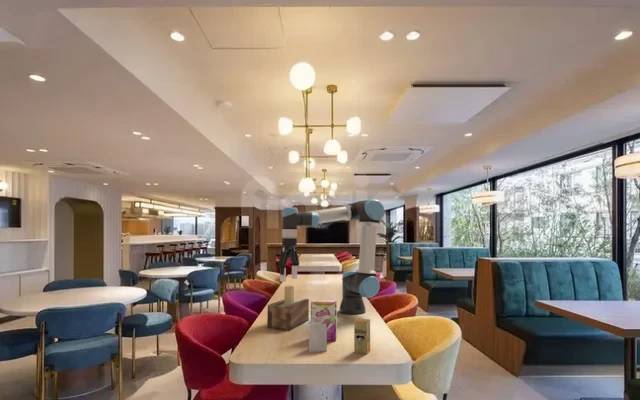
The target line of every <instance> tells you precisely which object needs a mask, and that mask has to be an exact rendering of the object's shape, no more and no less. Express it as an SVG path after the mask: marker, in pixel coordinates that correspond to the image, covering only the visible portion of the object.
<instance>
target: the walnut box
mask: <svg viewBox="0 0 640 400" xmlns="http://www.w3.org/2000/svg"><path fill="white" fill-rule="evenodd" d="M297 301H298V300H297ZM282 303H284V299H280V300H278V301H275V302H273V303H270V304H267V316H266V317H267V318H266V319H267V321H266V322H267V323H266V324H267V329H269V330H280V331H293V330H294V329H296V328H297V327H299V326H301V325H304V324H305V323H306V322H308V321H309V320H310V318H309V317H310V316H309V314H310V313H309V312H310V309H309V308H310V305H309V304H310V300H309V298H303V299H301V300H299V301H298V302H295V303H293V304H290V305H288V306H279V305H280V304H282Z"/></svg>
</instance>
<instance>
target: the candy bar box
mask: <svg viewBox="0 0 640 400" xmlns="http://www.w3.org/2000/svg"><path fill="white" fill-rule="evenodd" d="M337 315H338V301H337V300H327V299H326V300H325V299H324V300H323V299H312V300H311V301H310V324H326V329H327V342H336V341H337V338H338V336H337V333H338V332H337V328H338V327H337V325H338V323H337V322H338V321H337V320H338V319H337V318H338V316H337Z"/></svg>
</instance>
